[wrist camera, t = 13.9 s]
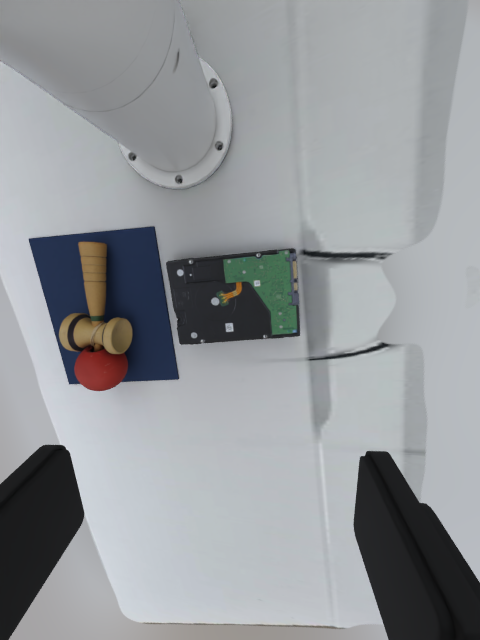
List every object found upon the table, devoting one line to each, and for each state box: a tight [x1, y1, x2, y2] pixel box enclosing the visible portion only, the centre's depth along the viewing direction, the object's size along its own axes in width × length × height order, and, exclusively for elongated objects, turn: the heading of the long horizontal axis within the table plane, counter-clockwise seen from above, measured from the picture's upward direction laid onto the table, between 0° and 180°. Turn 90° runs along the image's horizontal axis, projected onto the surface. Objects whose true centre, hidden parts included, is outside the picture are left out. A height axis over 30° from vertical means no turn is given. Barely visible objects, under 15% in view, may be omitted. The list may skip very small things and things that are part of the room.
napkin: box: [29, 227, 179, 384], centre depth 36 cm, size 20×16×1 cm
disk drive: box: [166, 249, 300, 345], centre depth 33 cm, size 10×3×15 cm
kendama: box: [59, 242, 132, 391], centre depth 34 cm, size 8×6×18 cm
